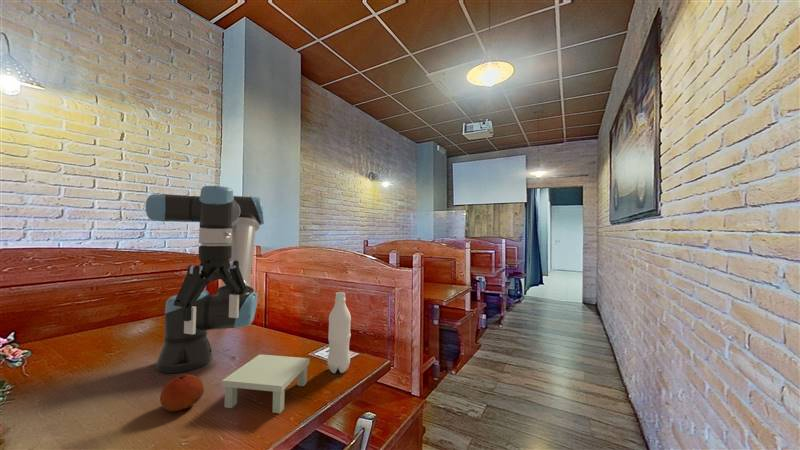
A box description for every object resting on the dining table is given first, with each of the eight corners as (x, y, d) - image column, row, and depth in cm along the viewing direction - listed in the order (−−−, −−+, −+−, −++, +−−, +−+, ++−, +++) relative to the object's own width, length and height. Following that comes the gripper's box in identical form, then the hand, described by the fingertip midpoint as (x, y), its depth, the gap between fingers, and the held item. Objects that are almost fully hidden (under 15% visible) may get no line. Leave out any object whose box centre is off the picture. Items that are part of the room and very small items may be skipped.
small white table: (221, 408, 76) (222, 380, 76) (259, 377, 91) (259, 354, 91) (280, 414, 73) (281, 386, 74) (308, 382, 89) (309, 358, 89)
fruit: (169, 422, 70) (170, 388, 70) (154, 410, 74) (155, 377, 74) (210, 404, 77) (211, 373, 77) (193, 393, 82) (194, 364, 82)
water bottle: (344, 376, 93) (346, 295, 93) (323, 373, 94) (325, 294, 95) (352, 366, 100) (354, 291, 100) (332, 364, 101) (334, 290, 102)
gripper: (182, 248, 67) (179, 343, 66) (260, 243, 91) (258, 313, 91) (156, 246, 68) (153, 339, 68) (239, 242, 93) (237, 310, 92)
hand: (213, 324), depth 79 cm, fingers open, 13 cm apart
